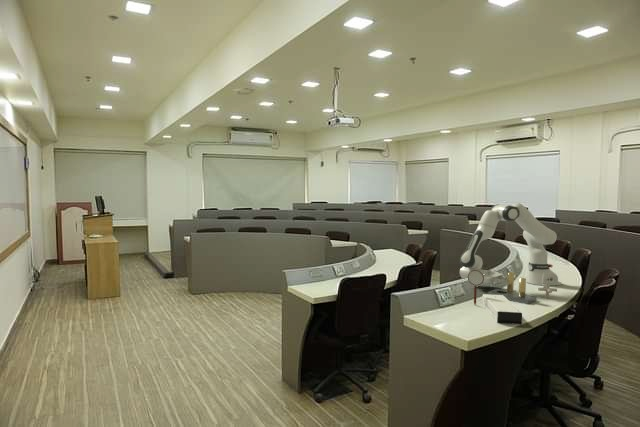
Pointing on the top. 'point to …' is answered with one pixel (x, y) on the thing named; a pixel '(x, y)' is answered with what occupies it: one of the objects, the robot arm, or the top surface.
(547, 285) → the pipe connector
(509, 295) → the bolt plate
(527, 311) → the top surface
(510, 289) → the brass pin
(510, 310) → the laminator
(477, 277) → the magnifying glass
